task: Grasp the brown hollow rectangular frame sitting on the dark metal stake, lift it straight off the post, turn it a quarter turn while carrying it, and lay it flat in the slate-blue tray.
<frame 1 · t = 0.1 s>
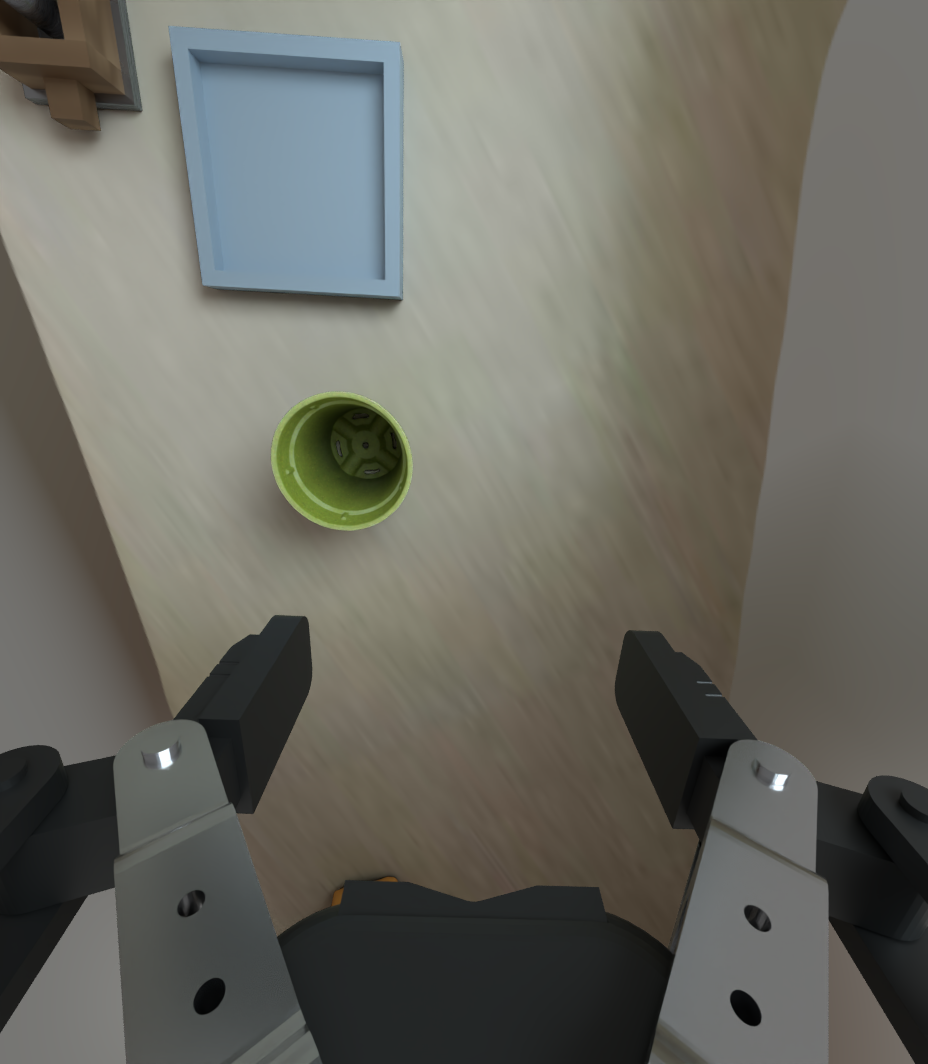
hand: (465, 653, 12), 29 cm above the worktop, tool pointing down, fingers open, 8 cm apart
plant pot: (367, 442, 39), on the worktop
stake: (76, 39, 30), on the worktop
brown hollow rectangular frame: (66, 30, 29), point 1 cm above the worktop, touching stake
tray: (303, 183, 32), on the worktop
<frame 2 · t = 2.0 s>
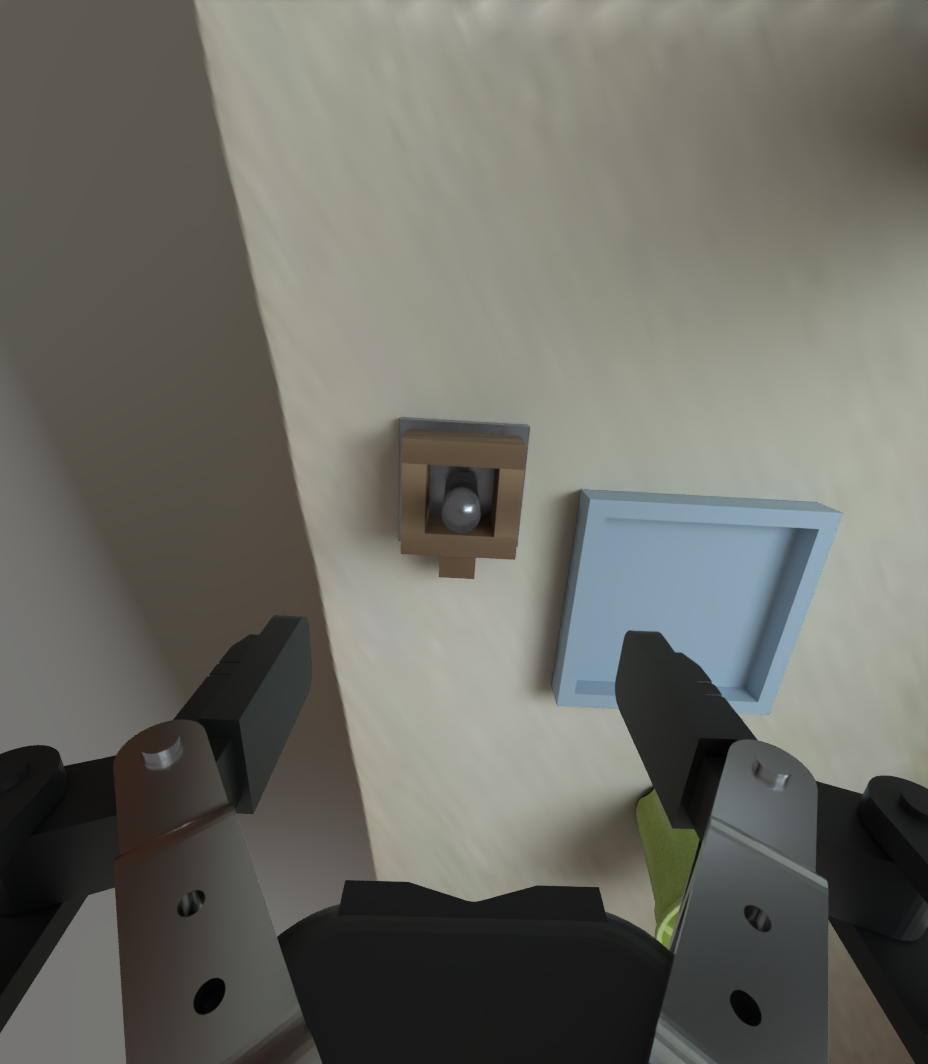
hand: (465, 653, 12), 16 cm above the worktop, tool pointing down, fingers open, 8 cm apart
plant pot: (672, 803, 36), on the worktop
stake: (461, 482, 27), on the worktop
brown hollow rectangular frame: (461, 486, 26), point 1 cm above the worktop, touching stake
tray: (673, 600, 30), on the worktop
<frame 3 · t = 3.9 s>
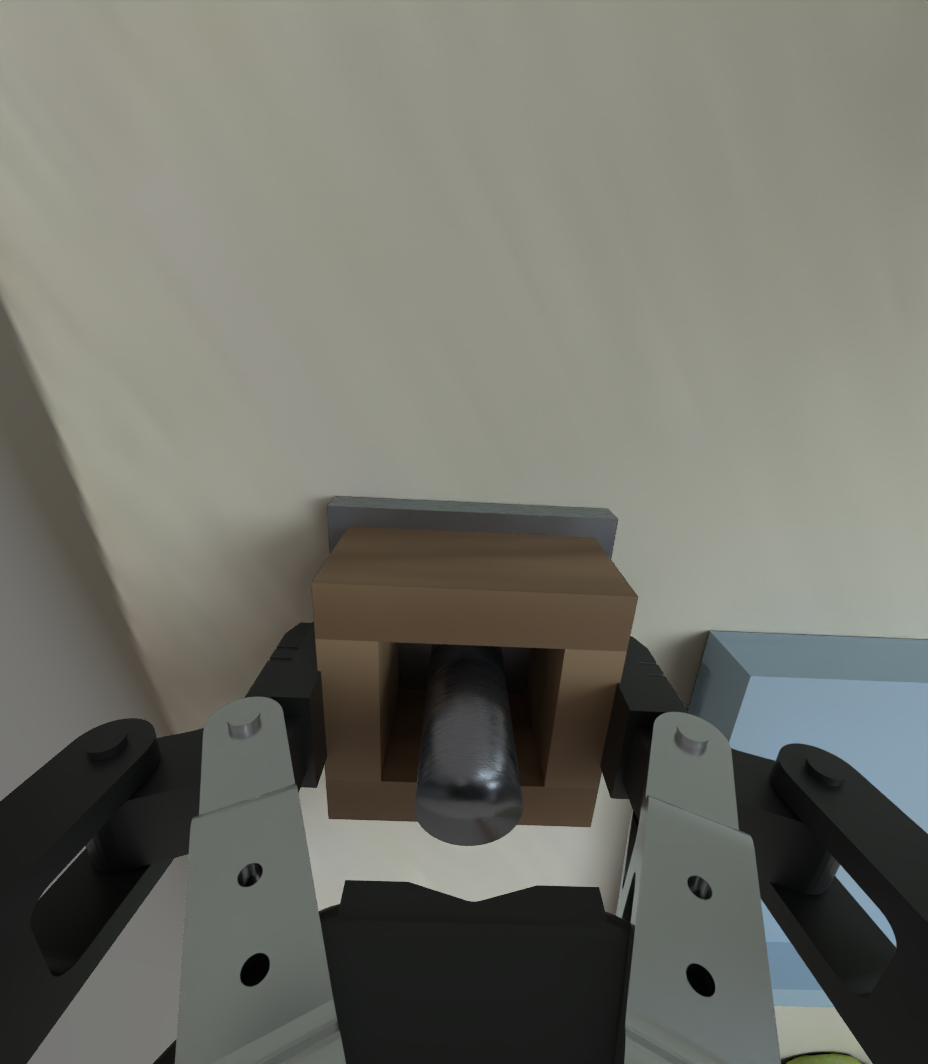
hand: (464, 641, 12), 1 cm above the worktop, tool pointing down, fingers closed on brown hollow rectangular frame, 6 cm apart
stake: (465, 620, 13), on the worktop
brown hollow rectangular frame: (466, 636, 12), point 1 cm above the worktop, touching gripper, stake
tray: (862, 814, 16), on the worktop
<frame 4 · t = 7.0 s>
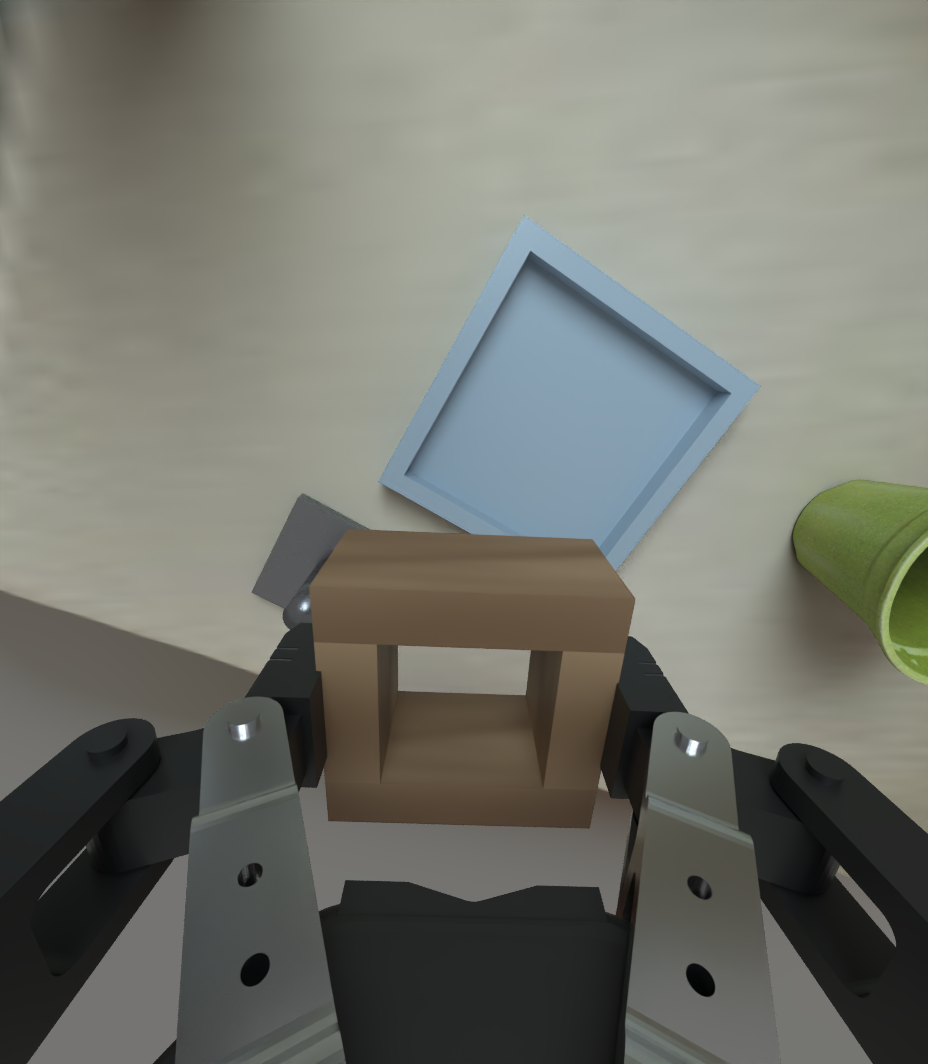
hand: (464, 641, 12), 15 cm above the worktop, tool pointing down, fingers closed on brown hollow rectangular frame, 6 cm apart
plant pot: (838, 527, 28), on the worktop
stake: (331, 568, 28), on the worktop
brown hollow rectangular frame: (464, 638, 12), point 15 cm above the worktop, touching gripper
tray: (555, 430, 26), on the worktop
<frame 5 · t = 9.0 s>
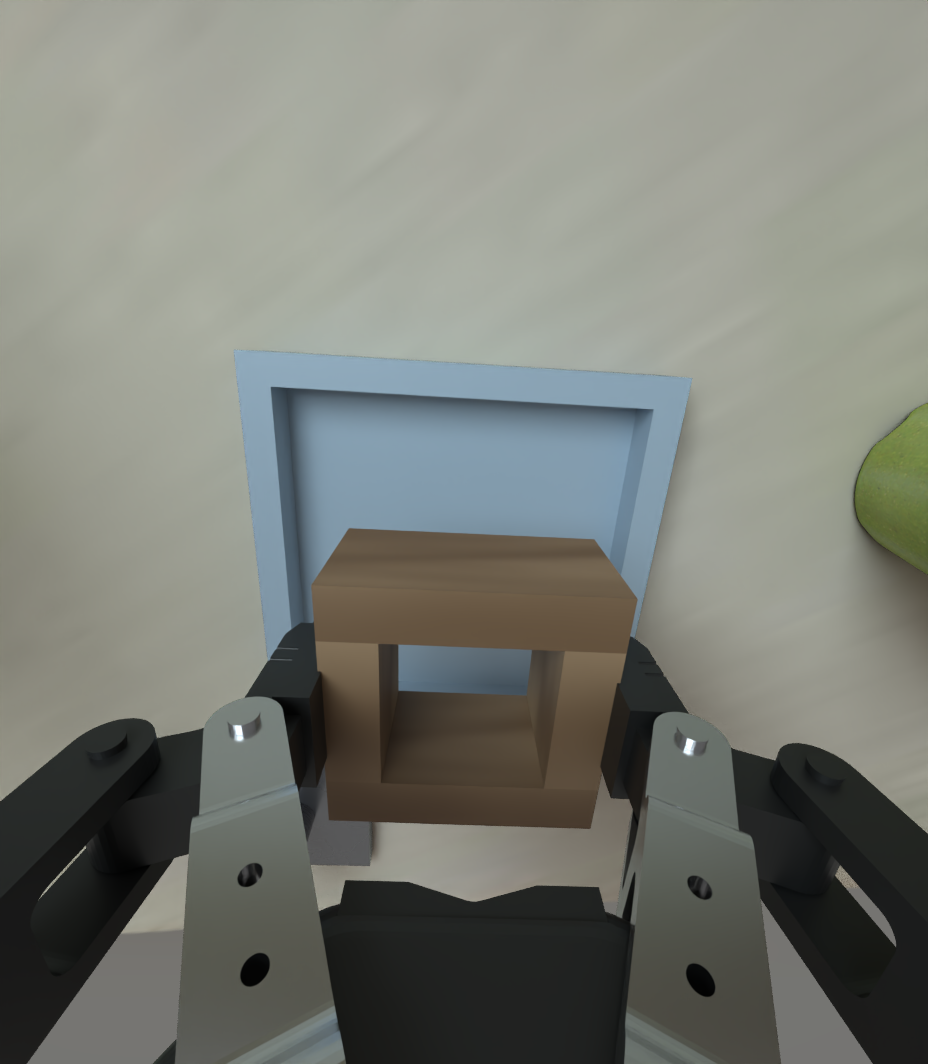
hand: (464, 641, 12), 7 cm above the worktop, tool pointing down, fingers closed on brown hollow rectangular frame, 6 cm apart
plant pot: (925, 474, 18), on the worktop
stake: (301, 800, 23), on the worktop
brown hollow rectangular frame: (466, 638, 12), point 6 cm above the worktop, touching gripper
tray: (455, 549, 18), on the worktop
when the fingers open (2 cm above the worktop, at t = 10.4 s): brown hollow rectangular frame drops 2 cm, resting on tray.
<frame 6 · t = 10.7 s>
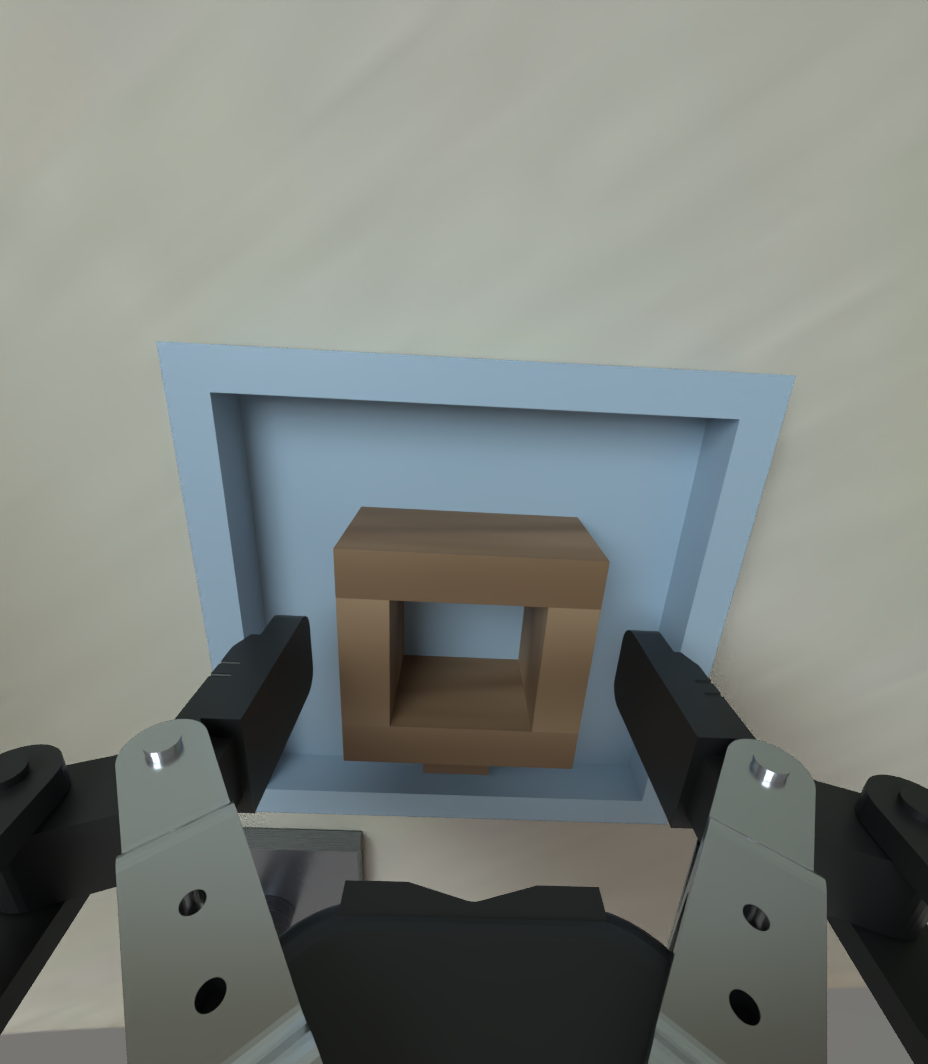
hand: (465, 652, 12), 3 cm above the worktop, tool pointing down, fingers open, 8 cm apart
stake: (279, 888, 19), on the worktop
brown hollow rectangular frame: (464, 606, 14), point 1 cm above the worktop, touching tray
tray: (464, 597, 14), on the worktop
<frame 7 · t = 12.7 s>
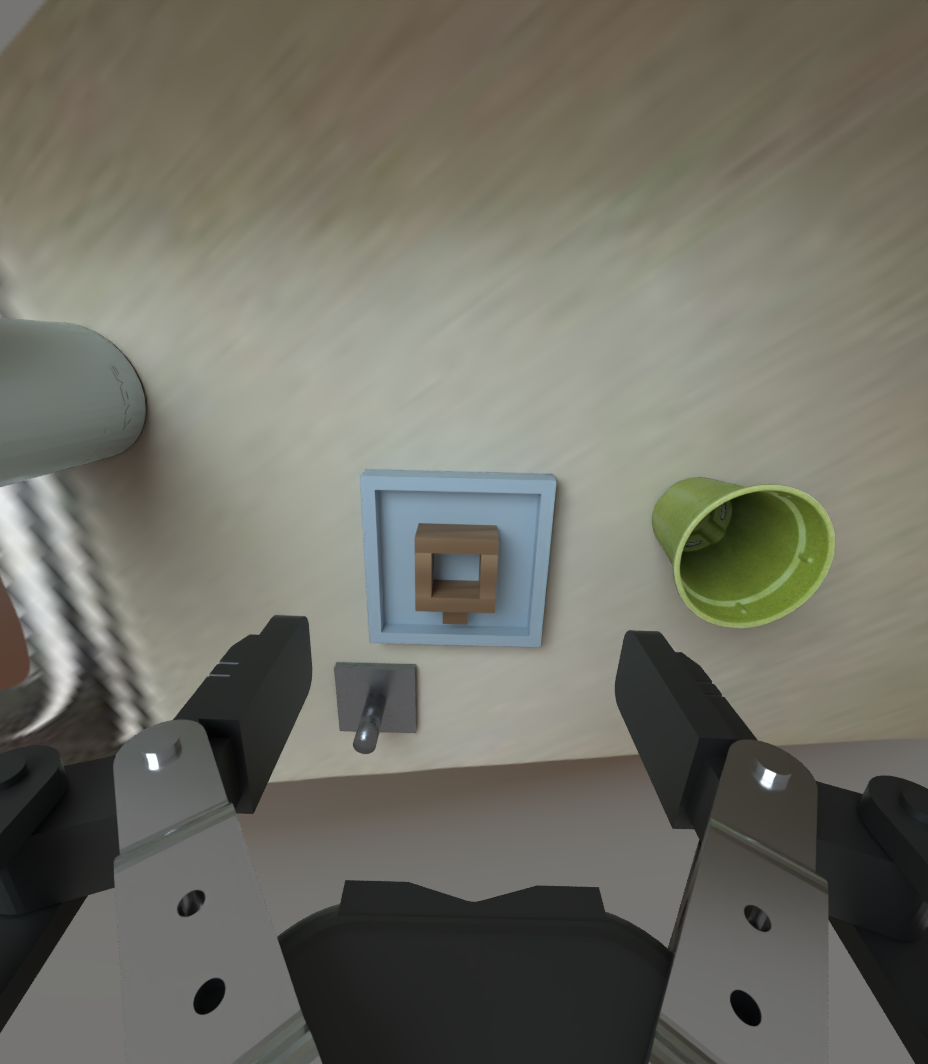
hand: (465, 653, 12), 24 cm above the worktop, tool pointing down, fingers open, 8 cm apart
plant pot: (688, 514, 36), on the worktop
stake: (377, 695, 42), on the worktop
brown hollow rectangular frame: (456, 559, 37), point 1 cm above the worktop, touching tray
tray: (457, 556, 37), on the worktop
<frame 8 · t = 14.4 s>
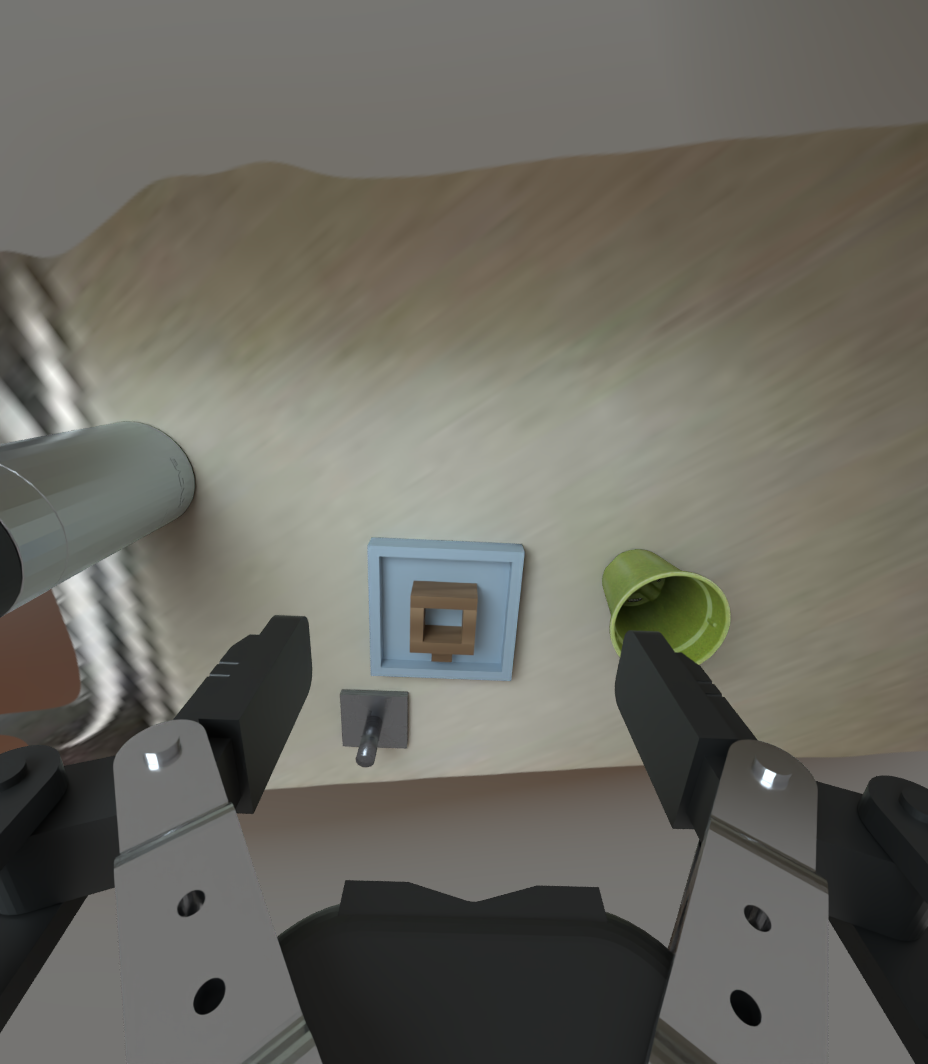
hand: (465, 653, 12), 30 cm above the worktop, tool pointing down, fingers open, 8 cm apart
plant pot: (631, 576, 45), on the worktop
stake: (375, 716, 50), on the worktop
brown hollow rectangular frame: (444, 609, 45), point 1 cm above the worktop, touching tray
tray: (444, 606, 45), on the worktop
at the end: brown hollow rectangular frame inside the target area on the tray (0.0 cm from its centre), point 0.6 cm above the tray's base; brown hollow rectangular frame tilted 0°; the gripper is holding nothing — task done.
